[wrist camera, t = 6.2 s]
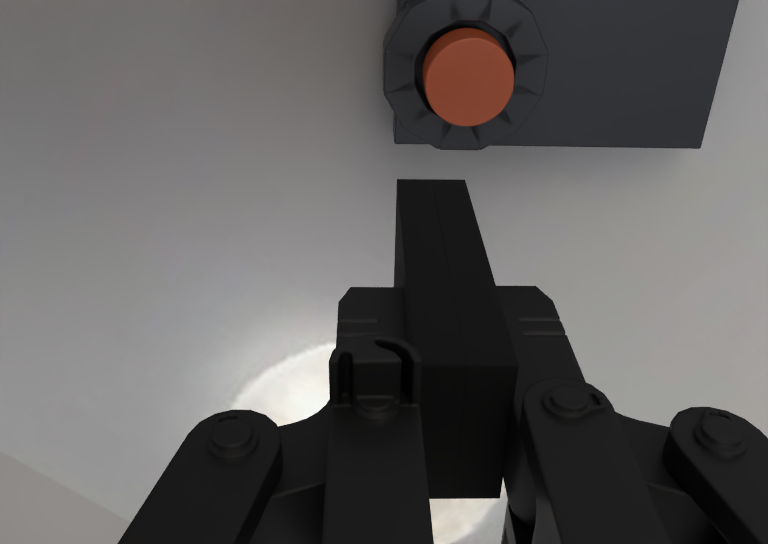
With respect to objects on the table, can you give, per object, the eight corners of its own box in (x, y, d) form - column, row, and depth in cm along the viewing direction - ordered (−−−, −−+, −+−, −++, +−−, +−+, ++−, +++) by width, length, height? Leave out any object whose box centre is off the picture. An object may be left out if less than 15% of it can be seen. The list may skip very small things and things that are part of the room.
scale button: (424, 26, 26) (427, 37, 25) (511, 27, 26) (519, 39, 25) (420, 111, 28) (422, 126, 26) (501, 112, 28) (509, 127, 27)
